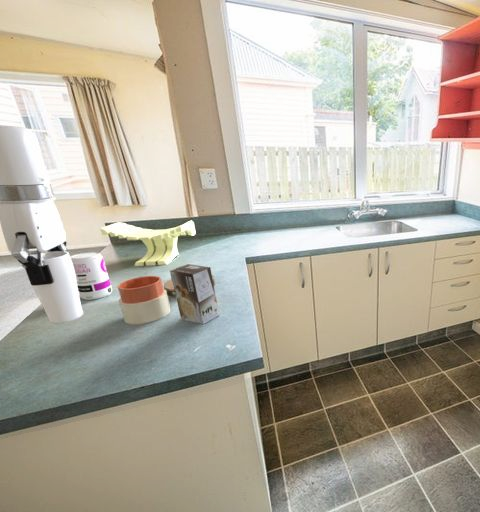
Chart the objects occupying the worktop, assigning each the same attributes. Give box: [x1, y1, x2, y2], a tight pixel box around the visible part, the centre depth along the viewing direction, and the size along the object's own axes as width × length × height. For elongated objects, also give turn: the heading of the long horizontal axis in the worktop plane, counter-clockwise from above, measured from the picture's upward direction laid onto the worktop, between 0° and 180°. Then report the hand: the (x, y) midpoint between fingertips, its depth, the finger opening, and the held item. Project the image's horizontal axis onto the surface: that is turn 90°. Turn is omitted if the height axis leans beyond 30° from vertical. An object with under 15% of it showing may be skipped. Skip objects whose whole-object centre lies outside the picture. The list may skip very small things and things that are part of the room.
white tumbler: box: [24, 251, 84, 325], centre depth 64 cm, size 7×7×15 cm
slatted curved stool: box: [100, 220, 197, 267], centre depth 138 cm, size 30×16×18 cm, turn 104°
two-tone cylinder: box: [118, 288, 172, 325], centre depth 91 cm, size 12×12×6 cm
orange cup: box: [117, 275, 164, 304], centre depth 90 cm, size 10×10×11 cm
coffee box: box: [169, 263, 220, 325], centre depth 89 cm, size 9×6×16 cm
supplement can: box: [70, 251, 113, 301], centre depth 102 cm, size 8×8×15 cm
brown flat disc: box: [163, 274, 216, 298], centre depth 111 cm, size 16×16×3 cm
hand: (53, 277), depth 63 cm, fingers closed on white tumbler, 6 cm apart
